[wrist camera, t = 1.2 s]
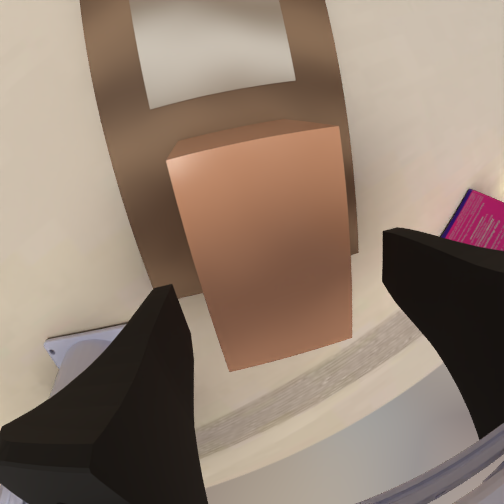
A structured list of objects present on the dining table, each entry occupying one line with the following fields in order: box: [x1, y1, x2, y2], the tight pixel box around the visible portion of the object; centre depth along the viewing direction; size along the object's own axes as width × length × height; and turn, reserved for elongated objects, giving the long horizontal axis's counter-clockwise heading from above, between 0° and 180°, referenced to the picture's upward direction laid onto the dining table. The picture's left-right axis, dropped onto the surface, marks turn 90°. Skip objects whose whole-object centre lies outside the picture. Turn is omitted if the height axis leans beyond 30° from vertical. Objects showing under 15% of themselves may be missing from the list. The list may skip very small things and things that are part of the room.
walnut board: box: [80, 0, 358, 298], centre depth 15 cm, size 23×13×1 cm, turn 11°
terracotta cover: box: [166, 119, 352, 372], centre depth 15 cm, size 9×6×7 cm, turn 11°
